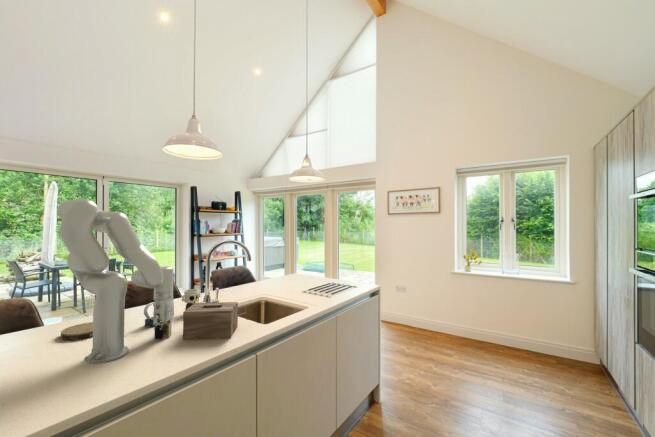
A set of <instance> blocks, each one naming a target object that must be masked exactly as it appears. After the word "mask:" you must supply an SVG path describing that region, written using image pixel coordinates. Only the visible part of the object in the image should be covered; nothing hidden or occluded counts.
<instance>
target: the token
mask: <svg viewBox="0 0 655 437" xmlns="http://www.w3.org/2000/svg"><path fill="white" fill-rule="evenodd" d="M172 323H173V322H166V323H163V327H162V329H163V339H170V337H172V327H173V326H172ZM158 325H159V326H160V325H161V324H158ZM153 338H154V339H155V334H154V337H153Z"/></svg>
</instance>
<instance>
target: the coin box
mask: <svg viewBox="0 0 655 437" xmlns="http://www.w3.org/2000/svg"><path fill="white" fill-rule="evenodd" d="M238 306H239V302H238V301H226V302H225V301H224V302H221V301H220V302H216V301H215V302H196V303H194V304H193V305H192V306H190V307H189V308H188V309H186V310H185V309H184V311H183V314H182V319H183V320H182V333H183V334H182V340H185V341H187V340H189V341H190V340H213V339H216V338H221V339H231V338H232V337H233V335H234V334H233V333H235V332H236V330H237V328H238V326H239V325H238V323H239V322H238V321H239V320H238V319H239V318H238V317H239V314H238V312H239V307H238Z"/></svg>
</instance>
